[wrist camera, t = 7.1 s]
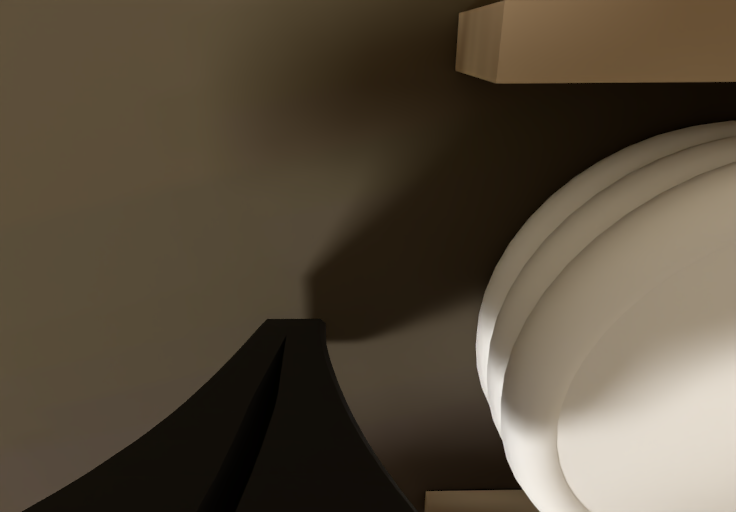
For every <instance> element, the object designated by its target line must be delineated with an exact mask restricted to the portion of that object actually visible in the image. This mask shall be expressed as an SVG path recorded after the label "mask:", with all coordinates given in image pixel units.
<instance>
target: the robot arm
mask: <svg viewBox="0 0 736 512" xmlns="http://www.w3.org/2000/svg"><path fill="white" fill-rule="evenodd" d="M22 512H418V511H417V510H416V509H415V507H414V506H413V505H412V504H411V502H410V501H409V500H408V499H407V497H406V496H405V495H404V494H403V492H402V491H401V490H400V488H399V487H398V486H397V484H396V483H395V481H394V480H393V479H392V477H391V476H390V474H389V473H388V472H387V470H386V469H385V467H384V466H383V465H382V463H381V462H380V460H379V459H378V457H377V456H376V454H375V453H374V451H373V450H372V448H371V446H370V445H369V443H368V441H367V440H366V438H365V437H364V435H363V433H362V431H361V429H360V428H359V426H358V424H357V422H356V420H355V418H354V417H353V415H352V413H351V411H350V409H349V406H348V404H347V402H346V400H345V398H344V395H343V393H342V391H341V389H340V386H339V384H338V381H337V379H336V376H335V373H334V370H333V367H332V364H331V361H330V358H329V354H328V350H327V345H326V323H325V322H324V321H322V320H321V319H267V320H266V321H265V322H264V323H263V324H262V325H261V326H260V327H259V328H258V329H257V330H256V332H255V333H254V334H253V335H252V336H251V337H250V338H249V339H248V340H247V341H246V343H245V344H244V345H243V346H242V347H241V348H240V349H239V350H238V351H237V352H236V353H235V354H234V355H233V357H232V358H231V359H230V360H229V361H228V362H227V363H226V364H225V365H224V366H223V367H222V368H221V369H220V370H219V371H218V372H217V373H216V374H215V375H214V376H213V377H212V378H211V379H210V380H209V381H208V382H207V383H205V384H204V385H203V386H202V387H201V388H200V389H199V390H198V391H197V392H196V393H195V394H194V395H192V396H191V397H190V398H189V399H188V400H187V401H186V402H185V403H184V404H182V405H181V406H180V407H179V408H178V409H177V410H175V411H174V412H173V413H172V414H171V415H169V416H168V417H167V418H165V419H164V420H163V421H162V422H160V423H159V424H158V425H156V426H155V427H154V428H152V429H151V430H150V431H149V432H147V433H146V434H145V435H143V436H142V437H140V438H139V439H138V440H136V441H135V442H133V443H132V444H130V445H129V446H127V447H126V448H124V449H123V450H121V451H120V452H118V453H117V454H115V455H114V456H113V457H111V458H110V459H108V460H107V461H105V462H104V463H102V464H101V465H99V466H98V467H96V468H95V469H93V470H92V471H90V472H89V473H87V474H85V475H84V476H82V477H80V478H79V479H77V480H75V481H74V482H72V483H71V484H69V485H67V486H66V487H64V488H62V489H61V490H59V491H57V492H56V493H54V494H52V495H50V496H48V497H47V498H45V499H43V500H41V501H40V502H38V503H36V504H34V505H33V506H31V507H29V508H27V509H26V510H24V511H22Z"/></svg>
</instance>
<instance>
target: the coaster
mask: <svg viewBox="0 0 736 512" xmlns="http://www.w3.org/2000/svg"><path fill="white" fill-rule="evenodd" d="M476 358H477V370H478V374H479V378H480V383H481V387H482V389H483V392H484V394H485V396H486V399H487V401H488V403H489V406H490V409H491V414H492V418H493V421H494V423H495V426H496V428H497V430H498V432H499V435H500V437H501V439H502V441H503V445H504V450H505V454H506V459H507V461H508V463H509V465H510V468H511V470H512V472H513V474H514V477H515V479H516V480H517V482H518V483H519V485H520V486H521V487H522V489H523V490H524V492H525V493H526V495H527V496H528V498H529V499H530V500H531V502H532V503H533V504H534V506H535V507H536V508H537V509H538V510H539V511H540V512H736V120H735V121H725V122H718V123H711V124H704V125H697V126H691V127H687V128H683V129H679V130H675V131H671V132H667V133H663V134H660V135H656V136H654V137H651V138H649V139H646V140H643V141H641V142H638V143H635V144H633V145H630V146H628V147H626V148H624V149H622V150H620V151H618V152H616V153H614V154H612V155H610V156H608V157H606V158H604V159H602V160H600V161H599V162H597V163H596V164H594V165H592V166H591V167H589V168H588V169H586V170H585V171H583V172H582V173H580V174H579V175H577V176H576V177H574V178H573V179H571V180H570V181H569V182H568V183H566V184H565V185H564V186H563V187H562V188H560V189H559V190H558V191H557V192H555V193H554V194H553V195H552V196H551V197H549V198H548V199H547V200H546V201H545V202H544V203H543V204H542V205H541V206H540V207H539V208H538V209H537V210H536V211H535V212H534V213H533V215H532V216H531V217H530V218H529V219H528V220H527V221H526V222H525V223H524V225H523V226H522V227H521V229H520V230H519V231H518V233H517V234H516V235H515V237H514V238H513V239H512V240H511V242H510V243H509V245H508V246H507V248H506V250H505V251H504V253H503V255H502V257H501V258H500V260H499V262H498V263H497V265H496V267H495V269H494V271H493V274H492V276H491V278H490V281H489V283H488V285H487V288H486V290H485V293H484V297H483V301H482V305H481V308H480V312H479V318H478V328H477V338H476Z"/></svg>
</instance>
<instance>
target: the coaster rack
mask: <svg viewBox="0 0 736 512" xmlns="http://www.w3.org/2000/svg"><path fill="white" fill-rule="evenodd" d="M455 71H458V72H461V73H464V74H467V75H470V76H474V77H477V78H480V79H483V80H486V81H490V82H493V83H636V82H736V0H504V1H500V2H497V3H493V4H490V5H486V6H483V7H479V8H476V9H472V10H469V11H465V12H461V13H459V23H458V37H457V51H456V66H455ZM424 512H540V511H539V510H538V509H537V508H536V507H535V506H534V504H533V503H532V502H531V500H530V499H529V498H528V496H527V495H526V493H525V492H524V490H471V491H426V496H425V511H424Z"/></svg>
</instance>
